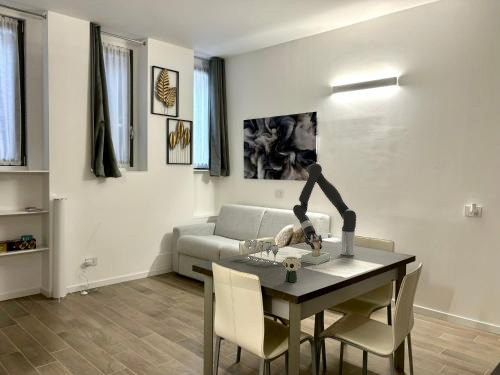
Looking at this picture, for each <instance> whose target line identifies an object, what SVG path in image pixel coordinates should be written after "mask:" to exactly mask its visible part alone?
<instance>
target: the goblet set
mask: <svg viewBox="0 0 500 375" xmlns="http://www.w3.org/2000/svg"><path fill="white" fill-rule="evenodd" d="M244 248H245V249H246V251H247V256H246V257H245V258H244V259H247V260H251V259H250V257H249V252H250V249H252V248H253V251H254V255H253V256H254V257H253V258H252V259H253V260H252V261H257V260H256V259H257V258H255V257H256V250H257V248H258V249H259V252H260V257H262V253H263V251H265V252H266V255H267V256H269V254H270V252H271V253H272V255H273V256H274V259H276V258H277V257H276V256H277V254H278V253H279V250H280V246H279V245H278V244H277V245H276V244H273V242H271V241H266V242H265V241H264V240H259V241H258V240H257V239H253V240H251V239H250V240H249V239H248V240H245V241H244ZM258 260H259V261H258V262H264V261H263V260H264V259H258ZM266 262H269V260H266ZM272 263H273V264H272V265H278V264H277V263H278V262H276V261H274V262H272Z"/></svg>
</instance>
